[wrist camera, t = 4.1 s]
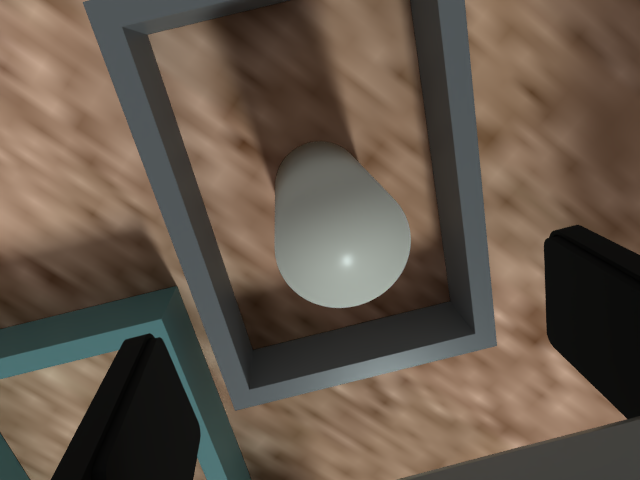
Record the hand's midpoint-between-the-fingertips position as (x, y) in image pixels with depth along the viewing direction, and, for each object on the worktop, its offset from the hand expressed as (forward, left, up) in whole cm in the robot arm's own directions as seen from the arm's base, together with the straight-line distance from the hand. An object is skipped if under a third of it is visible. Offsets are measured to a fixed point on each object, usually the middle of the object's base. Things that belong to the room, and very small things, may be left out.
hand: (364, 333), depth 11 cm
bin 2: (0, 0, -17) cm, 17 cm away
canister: (0, 0, -17) cm, 17 cm away
